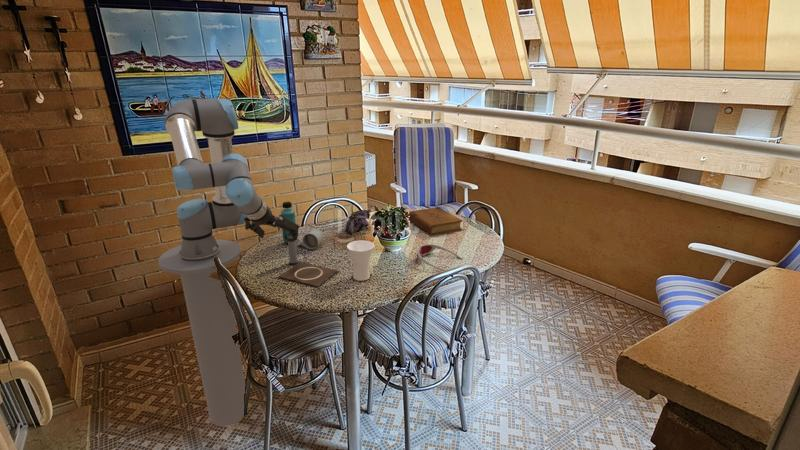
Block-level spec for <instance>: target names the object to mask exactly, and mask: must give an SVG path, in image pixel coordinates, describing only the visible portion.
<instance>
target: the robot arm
mask: <svg viewBox="0 0 800 450" xmlns="http://www.w3.org/2000/svg"><path fill="white" fill-rule="evenodd" d="M238 121H239V120H238V117H237V113H236V110H235V108H234V105H233V103H232V101H231V100H230V99H228V98H198V99H197V98H196V99H191V98H189V99H183V100H181V101H178V102H177V103H175V104H173V105H172V106H171V107H170V108H169V110H168V111H167V113H166V115H165V118H164V127H165V130H166V132H167V133H168V135H170V138H171V143H172V148H173V152H174V155H175V160H176V165H177V166H174V167H172V168H171V172H172V178H173V183H174V188H175V189H176V191H179V192H182V191H195V190H203V189H210V188H211V189H212V188H214V192H215V194H213V196H212V200H211V201H207V199H205V198H196V199H195V198H194V199H191V200H187V201H185V202H183V203H181V204H180V205H178V207H177V208H176V213H177V217H176V218H177V220H178V223H179V229H180V234H181V245H182V246H181V251H180V252H179V253H180V255H181V258H182V259H183V260H186V261H200V260H205V259H209V258H212V257H214V256H216V255H217V254H218V253H219V252H220V249H219V246H218V244H217V242H216V240H215V237H214V235H213V231H212V230H217V229H225V228H229V227H230V228H231V227H236V226H240V225H244V229H245V230H246V231H247V230H248V231H249V230H250V231H253V232H254V233H255V234H256V235H257V236H259V238H261V239H264V236H265V232H266V231H265V230H264V229H263V228H262V227H261V226H269V227H273V228H279V229H281V230H282V229H284V230H286V231H289V233H290V235H291V236H292V237H293V238H294V239H295V240H296V241H298V238H299V233H298V232H299V228H300V225H299V224H297V223H296V224H295V223H294V222H292V221H290V220H288V219H286V218H285V217H284V216H283V215H281V214H278V216H275V215H274V214H273V212H272V209H271V208H270V207H269V206H268V204H267V203H266V202H265V201H264V199H262V197H261V196H260V195H259V194H258V192H257V191H256V189H255V186H254V182H253V180H252V176H251V172H250V169H249V165H248V163H247V160H246V159H245V158H244V156H243V155H241V154H239V153H234V150H233V142H232V139H233V137H234V136H235V135H236V132H235V131H236V130H238V129H239V122H238ZM195 132H201V133H202V137H204V138H205V139H206V140H207V144H208V151H209V156H210V158H209V159H210V162H209V163H204V161H203V157H202V154H201V149H200V147H199V143H198V140H197V136H196V133H195Z"/></svg>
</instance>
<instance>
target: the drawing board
mask: <svg viewBox="0 0 800 450" xmlns="http://www.w3.org/2000/svg"><path fill="white" fill-rule="evenodd" d="M338 271H339V270H337V269H332V268H328V267H324V266H319V265H314V264H310V263H307V262H298V263H297V264H296V265H294V266H293V267H292V268H290V269H289V270H287V271H285V272H284V273H282V274H281V275H279V276H278V278H279V279H283V280H285V281H290V282H295V283H299V284H302V285H306V286H310V287H314V288H319V287H320V286H321V285H323V284H324V283H326V281H328V280H329V279H330V278H332V277H333V276H334V275H335V274H337V273H338Z"/></svg>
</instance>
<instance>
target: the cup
mask: <svg viewBox="0 0 800 450" xmlns="http://www.w3.org/2000/svg"><path fill="white" fill-rule="evenodd" d="M346 248H347V251H348V254H349V256H350V259H351V262H352V268H353V277H352V278H353V279H354V280H355V281H359V282H362V281H368V280H369V279H370V278H371V275H370V264H371V258H372V255H373V252H374V249H375V243H374V242H373V241H370V240H363V239H362V240H359V239H358V240H353V241H350V242H349V243H347V245H346Z"/></svg>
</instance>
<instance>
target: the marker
mask: <svg viewBox="0 0 800 450" xmlns="http://www.w3.org/2000/svg"><path fill="white" fill-rule="evenodd" d="M287 241H288V242H287V247H288V257H289V264H290V265H291V266H296V265H298V264H299V261H298V251H297V240H295V239H294V238H293V237H292V236H288V237H287Z"/></svg>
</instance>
